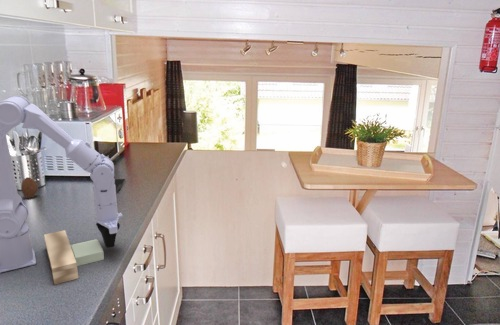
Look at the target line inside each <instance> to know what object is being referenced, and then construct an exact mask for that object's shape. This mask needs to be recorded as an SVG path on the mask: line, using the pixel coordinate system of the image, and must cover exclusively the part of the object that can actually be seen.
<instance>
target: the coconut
mask: <svg viewBox="0 0 500 325" xmlns="http://www.w3.org/2000/svg"><path fill="white" fill-rule="evenodd" d="M20 188H21V189H20V190H21V193H22V195H23V196H24V197H25V198H28V199H31V198H34V197H35V195H36V194H37V193H38V191H39V187H38V184H37V182H36V180H34V179H33V178H32V177H25V178H24V179H23V180H22V182H21V187H20Z"/></svg>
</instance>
